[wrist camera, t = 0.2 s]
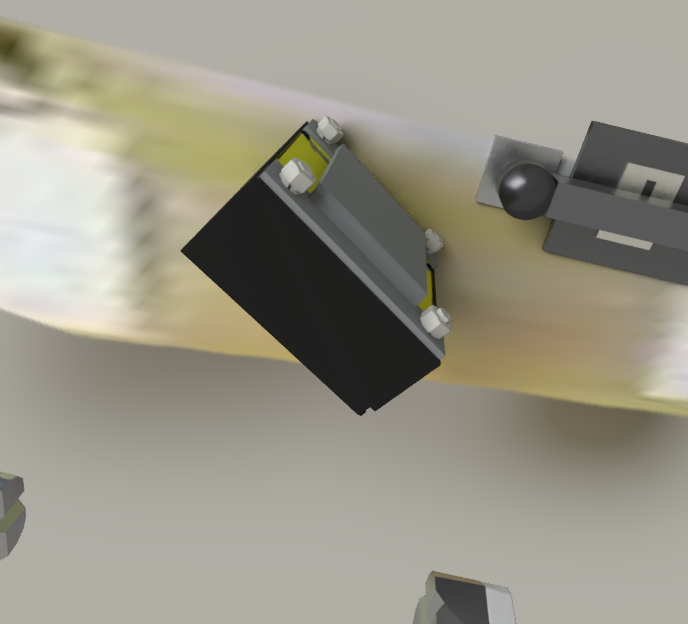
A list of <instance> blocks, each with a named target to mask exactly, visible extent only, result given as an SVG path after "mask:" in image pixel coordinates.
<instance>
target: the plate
mask: <svg viewBox="0 0 688 624" xmlns="http://www.w3.org/2000/svg"><path fill="white" fill-rule="evenodd" d="M570 178H574V179H578V180H583V181H587V182H591V183H595V184H599V185H603V186H608V187H612V188H616V189H620V190H624V191H628V192H633V193H637V194H641V195H645V196H649V197H653V198H658V199H662V200H666V201H670V202H674V203H678V204H682V205H687V206H688V144H687V143H683V142H678V141H675V140H671V139H666V138H662V137H658V136H654V135H650V134H646V133H642V132H637V131H633V130H629V129H624V128H621V127H617V126H612V125H608V124H604V123H600V122H596V121H592V122H591V124H590V127H589V129H588V132H587V134H586V137H585V140H584V142H583V144H582V147H581V150H580V152H579V155H578V157H577V160H576V162H575V165H574V167H573V170H572V172H571V175H570ZM542 249H543V251H546V252H550V253H554V254H558V255H562V256H566V257H571V258H575V259H579V260H583V261H587V262H591V263H596V264H600V265H604V266H608V267H612V268H616V269H621V270H625V271H629V272H633V273H637V274H641V275H646V276H650V277H654V278H658V279H662V280H666V281H671V282H675V283H679V284H683V285H687V286H688V251H685V250H681V249H677V248H673V247H668V246H664V245H660V244H656V243H652V242H648V241H643V240H639V239H635V238H631V237H627V236H623V235H618V234H614V233H610V232H606V231H602V230H598V229H593V228H589V227H585V226H581V225H577V224H573V223H569V222H564V221H560V220H556V219H553V221H552V223H551V226H550V228H549V231H548V234H547V236H546V239H545V241H544V244H543V246H542Z"/></svg>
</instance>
